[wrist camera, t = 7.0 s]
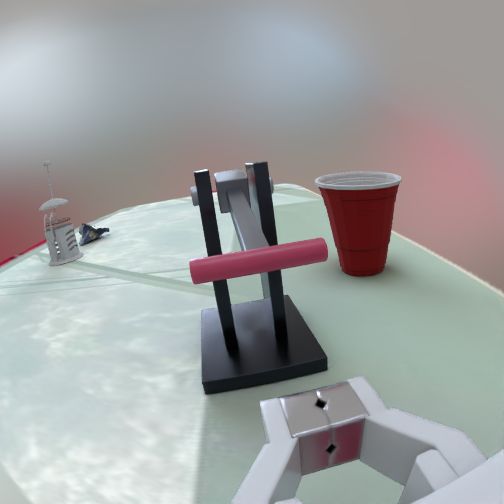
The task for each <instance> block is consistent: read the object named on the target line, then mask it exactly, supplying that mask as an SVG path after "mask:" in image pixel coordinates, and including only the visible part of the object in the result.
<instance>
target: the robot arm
mask: <svg viewBox="0 0 504 504" xmlns="http://www.w3.org/2000/svg"><path fill="white" fill-rule="evenodd" d="M260 408H261V414H262V420H263V425H264V431H265V436H266V441H267V444H264V446H263V448H262V450H261V451H260V453H259V455H258V457H257V458H256V460H255V462H254V464H253V465H252V467H251V469H250V471H249V472H248V474H247V476H246V477H245V479H244V481H243V483H242V484H241V486H240V488H239V489H238V491H237V493H236V494H235V496H234V497H233V499H232V501H231V502H230V504H303V502H302V500H299V499H296V498H294V496H295V494H296V491H297V488H298V486H299V483H300V480H301V476H303V475H307V474H310V473H314V472H317V471H320V470H324V469H327V468H330V467H334V466H337V465H341V464H344V463H348V462H351V461H354V460H358V459H360V461H362V462H363V463H365V464H366V465H368V466H370V467H372V468H373V469H375V470H377V471H378V472H380V473H382V474H383V475H385V476H387V477H389V478H390V479H392V480H394V481H396V482H398V483H399V484H401V485H403V486H405V488H404V490H403V493H402V495H401V497H400V500H399V502H398V504H504V448H503V449H502V450H501V451H499V452H498V453H497V454H495V455H494V456H492V457H491V458H489V459H487V457H486V456H485V455H484V454H483V453H482V452H481V451H480V449H479V448H478V447H477V446H476V445H475V444H474V442H473V441H472V440H471V439H470V438H469V437H468V436H467V434H466V433H465V432H464V431H462V430H459V429H455V428H452V427H449V426H446V425H443V424H439V423H436V422H433V421H430V420H427V419H424V418H421V417H418V416H416V415H413V414H410V413H407V412H404V411H401V410H399V409H396V408H390V409H388V408H387V406H386V405H385V404H384V402H383V401H382V400H381V398H380V397H379V395H378V394H377V393H376V391H375V390H374V389H373V387H372V386H371V385H370V383H369V382H368V381H367V379H366V378H365V377H364V376H362V375H361V376H358V377H355V378H352V379H349V380H346V381H343V382H339V383H336V384H332V385H329V386H325V387H322V388H318V389H314V390H310V391H306V392H301V393H297V394H292V395H287V396H282V397H278V398H273V399H268V400H262V401H260Z"/></svg>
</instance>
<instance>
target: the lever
mask: <svg viewBox="0 0 504 504" xmlns="http://www.w3.org/2000/svg"><path fill="white" fill-rule="evenodd" d="M214 175H215V182H216V189H217V196H218V202H219V206H220V211H221V213H228V212H230V213H231V217H232V220H233V223H234V226H235V230H236V233H237V236H238V240H239V243H240V246H241V249H242V251H239V252H234V253H228V254H222V255H216V256H210V257H204V258H198V259H193V260H190V262H189V265H190V273H191V278H192V281H193V283H194V284H200V283H206V282H212V281H218V280H224V279H230V278H235V277H241V276H247V275H253V274H258V273H264V272H269V271H275V270H280V269H286V268H291V267H297V266H302V265H308V264H313V263H318V262H324V261H326V260H327V258H328V249H327V245H326V242H325V240H324V239H323V238H316V239H310V240H304V241H298V242H292V243H287V244H281V245H275V246H269V245H268V243H267V240H266V238H265V236H264V234H263V232H262V230H261V228H260V226H259V224H258V222H257V220H256V218H255V216H254V214H253V212H252V210H251V202H250V193H249V185H248V178H247V176H246V175H245V173H244V171H243V170H242V169H238V170H232V171H225V172H219V173H215V174H214Z"/></svg>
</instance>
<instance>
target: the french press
mask: <svg viewBox="0 0 504 504" xmlns="http://www.w3.org/2000/svg"><path fill="white" fill-rule="evenodd" d="M43 164H44V166H47V170H48V165H49V164H50V161H49V160H47V161H44V163H43ZM48 177H49V171H48ZM49 179H50V178H49ZM49 182H50V180H49ZM50 189H51V186H50ZM51 194H52V191H51ZM68 202H69V201H67V200H65V199H61V198H57V199H54V198H53V196H52V199H51V200H49V201H48V202H46V203H44V204H43V205H42V206H41V208H40V209H39V211H43V210H47V209H51V208H54V210H55V207H57V206H61V205H64V204H67V203H68ZM51 214H52V216H53V213H51ZM55 215H56V212H55ZM45 216H47V214H45ZM45 216H44V227H49V226H50V227H51V226H53V225H57V224H61V223H63V222H66V221H68V220H70V218H69V217H68V218H63V219H60V220H58V219H57V217H56V221H53V222H51V219H52V218H53V217H52V218H51V216H50V218H48V216H47V219H50V222H49V223H46V224H45ZM45 236H46V240H47V244H48V247H49V252H50V256H51V261H50V263H49V265H50V266H55V265H61V264H65V263H68V262H71V261H74V260H76V259H78V258H80V257H82V256H83V255H84V254H83V253H82V252H80V251H79V249H78V247H77V246H78V245H77V242H76V237H75V233H74V228H73V223H69V224H64V225H61V226H57V227H54V228H52V227H51V229H48V230H46V228H45ZM54 236H56V239H55V237H54ZM53 237H54V238H53ZM55 242H57V244H55ZM56 246H58V247H59V248H57V249H56ZM74 246H76V247H74ZM57 251H60V253H57Z"/></svg>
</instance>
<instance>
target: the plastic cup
mask: <svg viewBox="0 0 504 504" xmlns="http://www.w3.org/2000/svg"><path fill="white" fill-rule="evenodd" d="M401 181H402V177H400V176H399V175H395V174H391V173H384V172H345V173H337V174H331V175H326V176H321V177H319V178H317V179H315V183H316V186H319V189H320V191H321V194H322V197H323V199H324V203H325V206H326V209H327V213H328V217H329V221H330V225H331V229H332V233H333V238H334V242H335V246H336V247H337V252H338V257H339V261H340V266H341V267H342V271H343V272H345V273H347V274H350V275H356V276H367V275H373V274H377V273H379V272H381V271H383V269H384V266H385V263H386V258H387V251H388V244H389V242H390V235H391V228H392V220H393V212H394V203H395V200H396V194H397V189H398V186H399V184H400V182H401Z"/></svg>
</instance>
